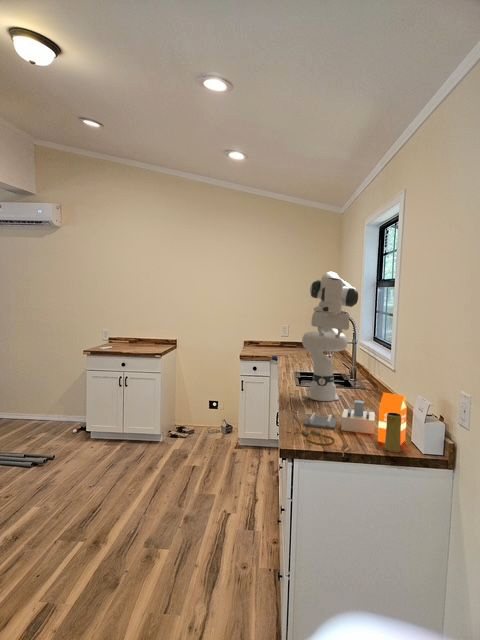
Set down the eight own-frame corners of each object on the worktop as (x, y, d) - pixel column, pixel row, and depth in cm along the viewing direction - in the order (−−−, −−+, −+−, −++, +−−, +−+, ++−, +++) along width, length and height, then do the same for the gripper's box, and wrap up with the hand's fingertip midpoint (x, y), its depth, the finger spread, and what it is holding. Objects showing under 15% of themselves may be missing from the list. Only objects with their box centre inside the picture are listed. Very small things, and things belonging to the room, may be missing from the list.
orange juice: (384, 436, 180) (386, 390, 179) (405, 441, 174) (407, 394, 173) (377, 441, 174) (379, 394, 173) (399, 446, 168) (401, 397, 167)
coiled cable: (328, 433, 184) (328, 429, 184) (338, 446, 168) (338, 441, 168) (301, 433, 183) (301, 428, 183) (308, 446, 168) (308, 441, 167)
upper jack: (343, 421, 201) (344, 404, 200) (374, 424, 196) (374, 408, 196) (341, 430, 187) (341, 412, 187) (374, 434, 183) (374, 416, 183)
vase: (400, 453, 161) (402, 417, 160) (383, 451, 163) (385, 415, 162) (400, 448, 166) (402, 413, 166) (384, 445, 169) (386, 411, 168)
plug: (354, 412, 194) (354, 400, 194) (363, 413, 193) (363, 401, 192) (353, 415, 190) (354, 402, 190) (363, 416, 189) (363, 403, 189)
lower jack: (308, 417, 206) (308, 411, 206) (337, 420, 202) (337, 414, 201) (303, 425, 193) (303, 419, 192) (334, 429, 188) (334, 422, 188)
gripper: (345, 312, 213) (342, 339, 212) (311, 307, 205) (308, 335, 205) (353, 312, 207) (350, 339, 207) (318, 307, 199) (315, 336, 199)
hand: (329, 337), depth 206 cm, fingers open, 8 cm apart
